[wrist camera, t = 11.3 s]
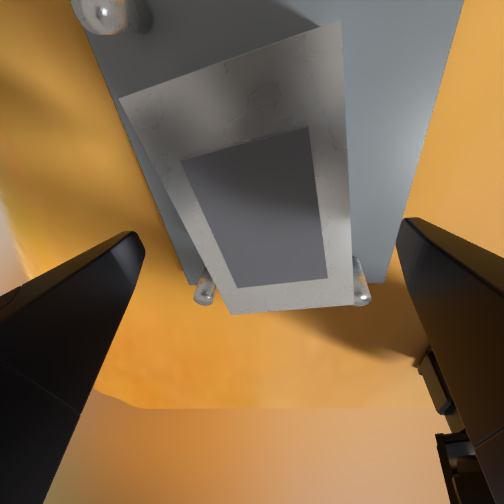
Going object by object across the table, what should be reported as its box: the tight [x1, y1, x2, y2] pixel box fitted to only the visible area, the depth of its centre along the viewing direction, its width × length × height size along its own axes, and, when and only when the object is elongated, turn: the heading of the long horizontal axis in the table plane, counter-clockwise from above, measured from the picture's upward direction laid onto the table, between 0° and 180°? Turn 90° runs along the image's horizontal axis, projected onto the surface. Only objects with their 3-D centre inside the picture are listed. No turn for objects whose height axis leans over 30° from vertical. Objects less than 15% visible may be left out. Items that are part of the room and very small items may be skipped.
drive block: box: [119, 20, 354, 315], centre depth 11 cm, size 6×10×5 cm, turn 16°
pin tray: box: [71, 0, 464, 306], centre depth 12 cm, size 14×17×4 cm
